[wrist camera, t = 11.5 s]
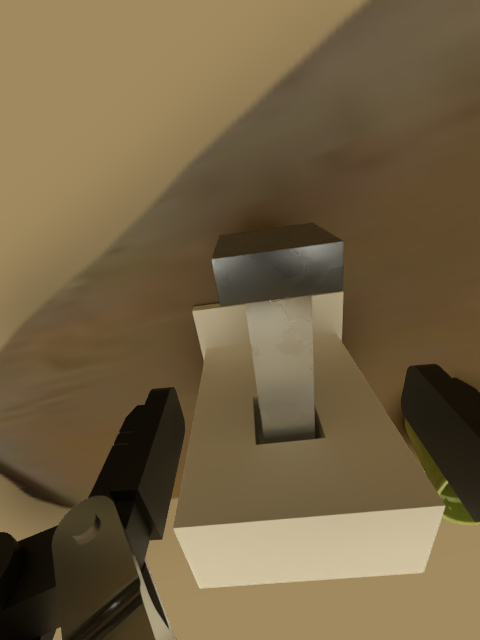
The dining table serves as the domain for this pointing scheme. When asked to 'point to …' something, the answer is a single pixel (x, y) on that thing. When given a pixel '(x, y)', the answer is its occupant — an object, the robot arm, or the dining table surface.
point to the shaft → (280, 314)
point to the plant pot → (440, 483)
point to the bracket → (297, 471)
